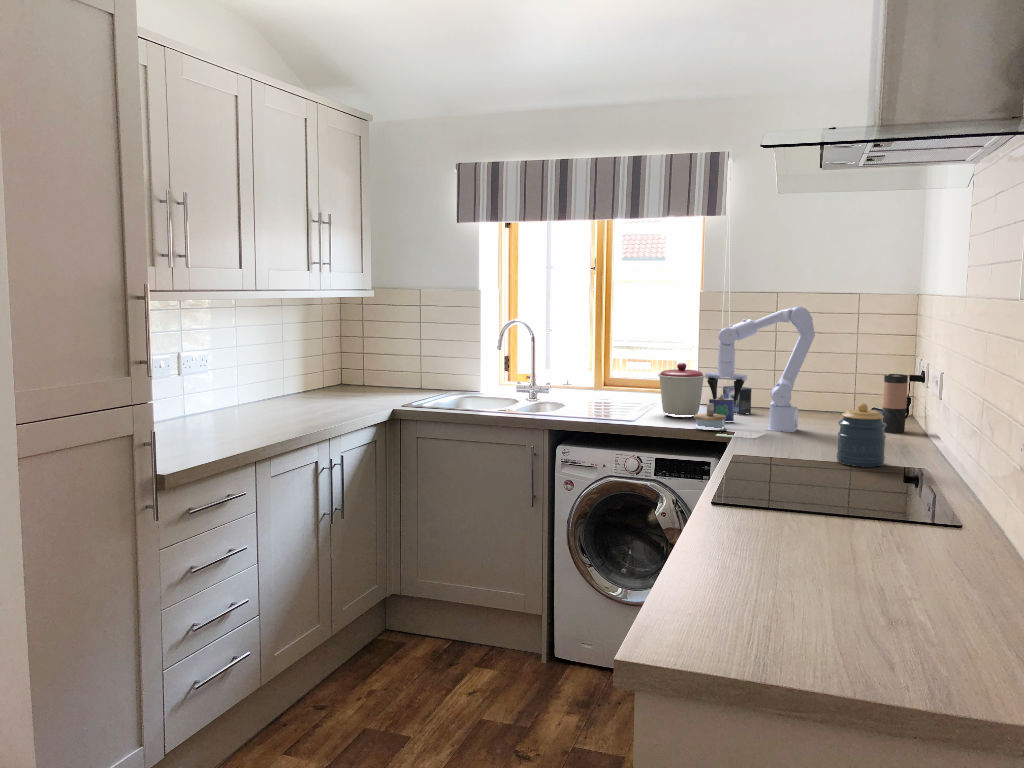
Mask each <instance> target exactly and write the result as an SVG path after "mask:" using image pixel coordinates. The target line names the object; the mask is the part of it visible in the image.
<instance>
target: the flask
mask: <svg viewBox="0 0 1024 768" xmlns="http://www.w3.org/2000/svg"><path fill="white" fill-rule="evenodd" d="M708 403H713V404H714V414H720V415H724V416H726V419H725V421H734V419H735V418H734V417H735V416H734V415H735V414H734V399H724V395H723V393H722V394H720V396H717V399H713V397H712V398H709V399H708Z"/></svg>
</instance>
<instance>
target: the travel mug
mask: <svg viewBox="0 0 1024 768" xmlns="http://www.w3.org/2000/svg"><path fill="white" fill-rule="evenodd" d="M883 377H884V378H883V390H882V391H883V394H882V395H883V396H882V412H881V413H882V414H881V415H883V416H884V418H882V420H883V421H884V423H886V425H887V426H886V427H885V428H884V433H886V434H887V433H888V434H895V433H899V434H904V433H905V429H906V417H907V416H906V415H907V408H908V407H907V403H908V378H909V376H908V375H907V374H901V373H888V375H886V374H884V375H883Z"/></svg>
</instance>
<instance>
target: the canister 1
mask: <svg viewBox="0 0 1024 768" xmlns="http://www.w3.org/2000/svg"><path fill="white" fill-rule="evenodd" d="M686 368H687V364H686V363H685V362H679V363H678V364H677V366H676V368H675V369H665V370H663V371H661V372H660V373H657V376H658V377H659V386H660V397H661V398H660V399H661V405H662V411H663V413H664V412H665V413H668V414H675V415H696V414H699V411H700V406H701V401H702V393H703V385H704V379H705V373H703V372H702V371H700V370H696V369H694V370H693V369H686Z"/></svg>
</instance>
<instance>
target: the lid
mask: <svg viewBox="0 0 1024 768" xmlns="http://www.w3.org/2000/svg"><path fill="white" fill-rule="evenodd" d="M693 418H694V419H695V420H696V419H699V420H707V421H719V420H725V419H726V416H724V415H720V414H714V404H713V403H709V402H708V403H706V413H698V414H696V415H694V417H693Z"/></svg>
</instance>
